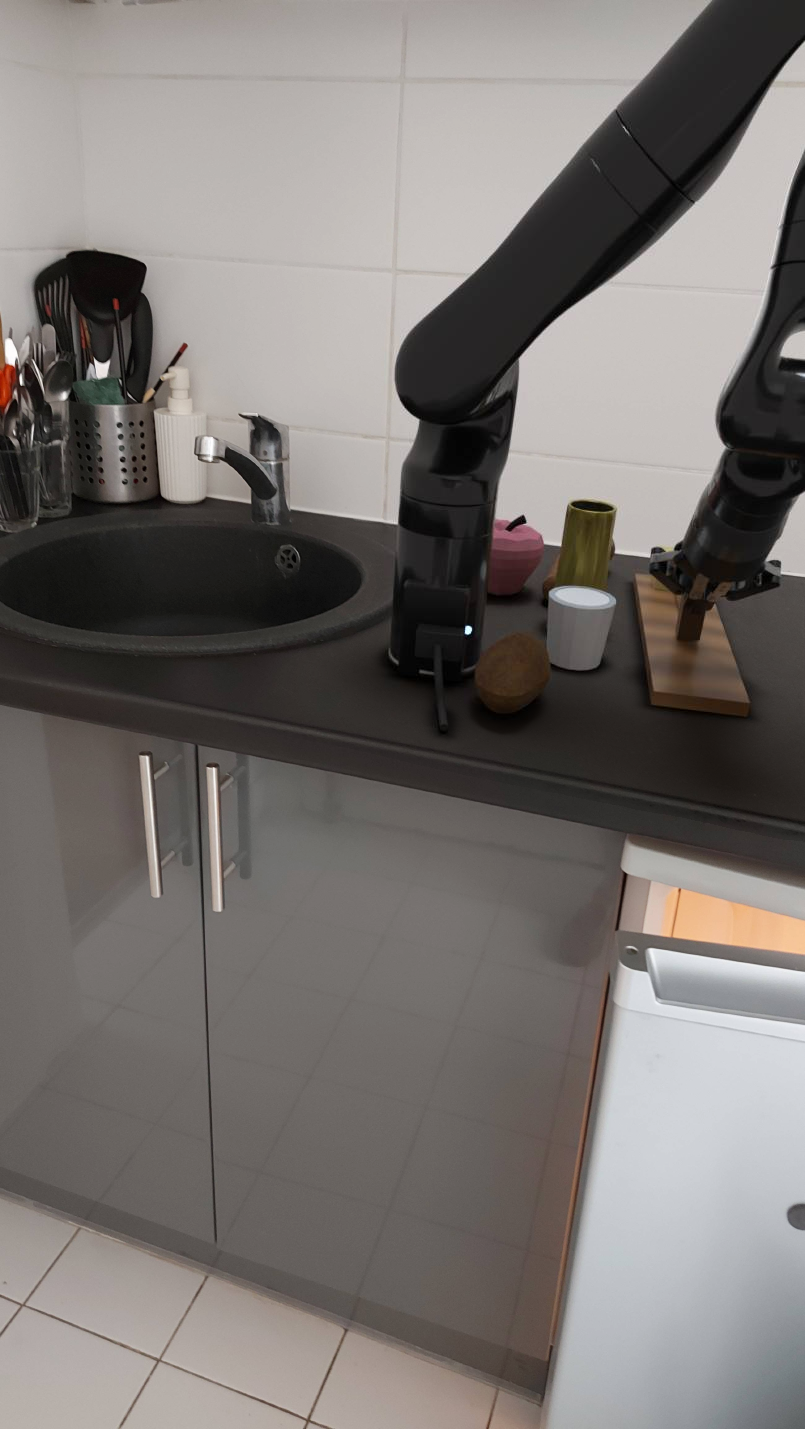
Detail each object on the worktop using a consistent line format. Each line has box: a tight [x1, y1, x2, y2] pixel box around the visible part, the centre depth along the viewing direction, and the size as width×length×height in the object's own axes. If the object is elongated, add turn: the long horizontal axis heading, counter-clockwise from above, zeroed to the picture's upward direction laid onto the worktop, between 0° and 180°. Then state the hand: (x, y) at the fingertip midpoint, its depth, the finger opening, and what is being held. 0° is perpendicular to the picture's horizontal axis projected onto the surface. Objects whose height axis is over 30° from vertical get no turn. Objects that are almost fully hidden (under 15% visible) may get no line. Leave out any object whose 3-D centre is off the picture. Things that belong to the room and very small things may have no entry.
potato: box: [474, 630, 552, 715], centre depth 93 cm, size 7×12×7 cm, turn 164°
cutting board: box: [632, 572, 751, 718], centre depth 112 cm, size 36×9×2 cm, turn 171°
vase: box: [546, 498, 618, 629], centre depth 109 cm, size 6×6×14 cm
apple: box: [487, 514, 545, 597], centre depth 120 cm, size 10×9×10 cm
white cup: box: [546, 586, 617, 671], centre depth 104 cm, size 7×7×7 cm
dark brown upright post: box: [675, 594, 706, 641], centre depth 114 cm, size 18×2×9 cm, turn 171°
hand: (695, 605), depth 105 cm, fingers closed
